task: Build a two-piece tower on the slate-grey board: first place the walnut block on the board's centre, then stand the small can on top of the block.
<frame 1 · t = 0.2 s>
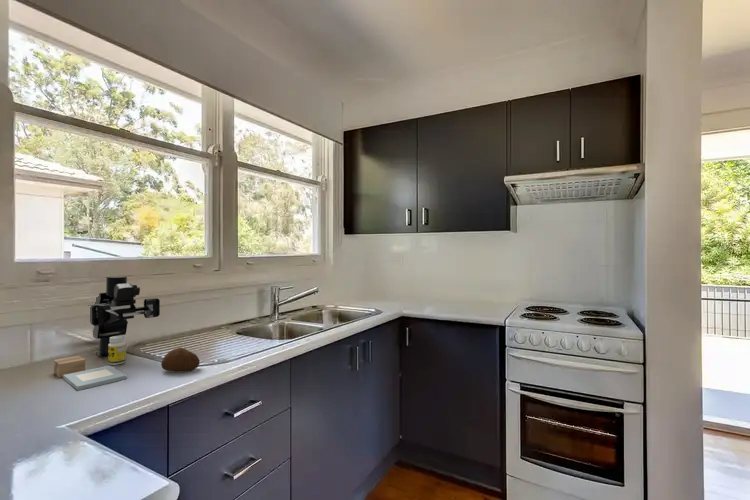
hand: (136, 314, 113), 17 cm above the counter, tool horizontal, fingers open, 9 cm apart
walnut block: (69, 373, 109), on the counter
build board: (94, 378, 104), on the counter
potato: (180, 372, 111), on the counter
supplement bottle: (116, 363, 118), on the counter
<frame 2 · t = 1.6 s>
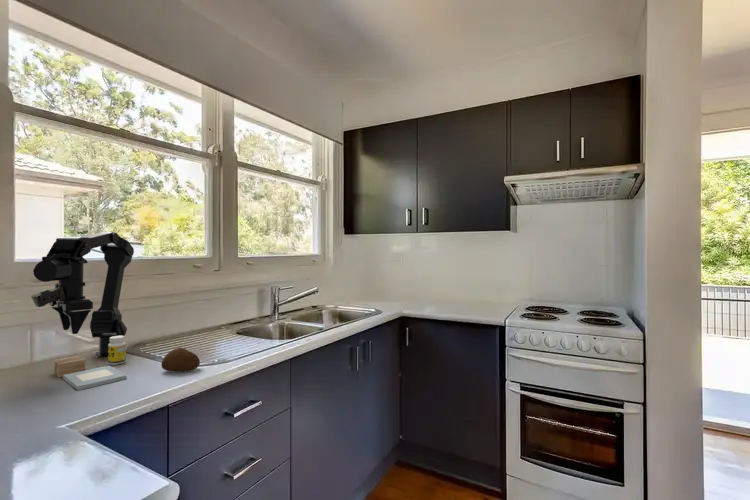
hand: (70, 331, 109), 12 cm above the counter, tool pointing down, fingers open, 9 cm apart
nothing on the counter moved.
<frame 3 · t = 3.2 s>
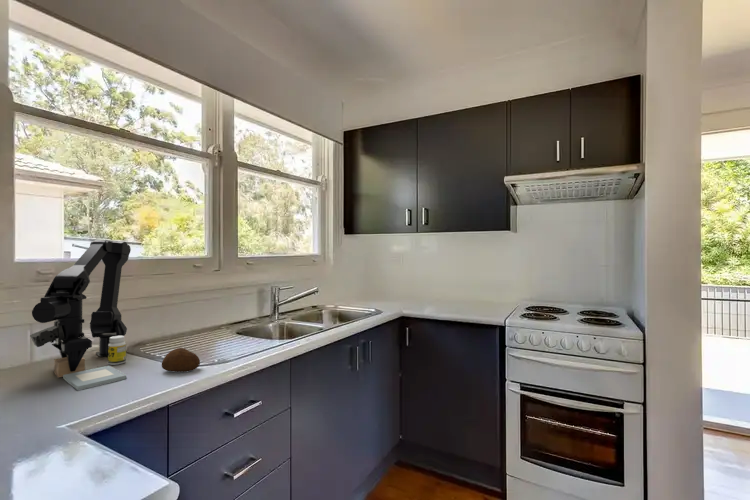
hand: (69, 369, 109), 1 cm above the counter, tool pointing down, fingers closed on walnut block, 6 cm apart
walnut block: (69, 372, 109), on the counter, touching gripper
everything else where it was.
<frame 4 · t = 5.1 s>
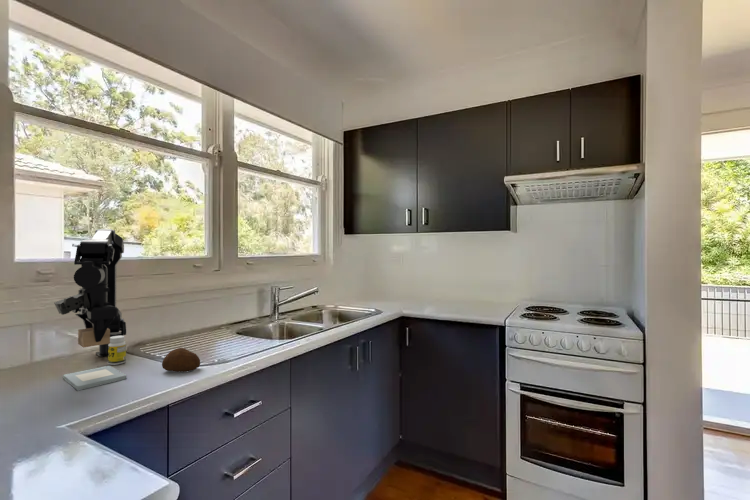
hand: (94, 339, 104), 11 cm above the counter, tool pointing down, fingers closed on walnut block, 6 cm apart
walnut block: (94, 343, 104), point 10 cm above the counter, touching gripper
everything else where it was.
when the fingers open (3 cm above the counter, at t = 6.9 s): walnut block drops 1 cm, resting on build board.
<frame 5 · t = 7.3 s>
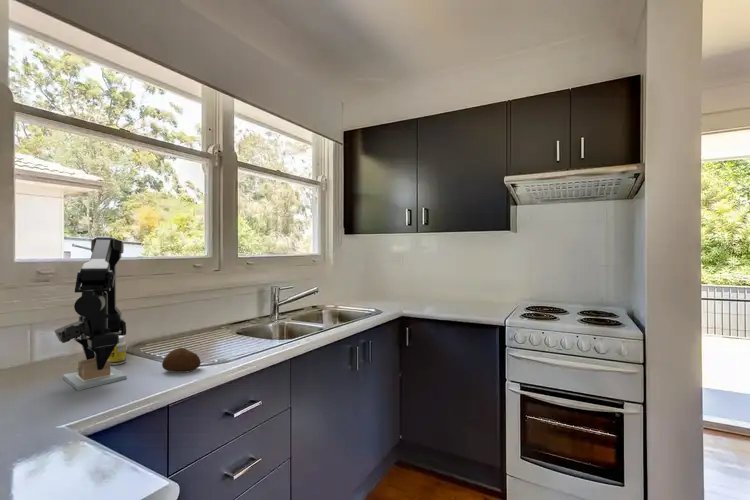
hand: (94, 366, 104), 3 cm above the counter, tool pointing down, fingers open, 9 cm apart
walnut block: (94, 374, 104), point 1 cm above the counter, touching build board
everything else where it was.
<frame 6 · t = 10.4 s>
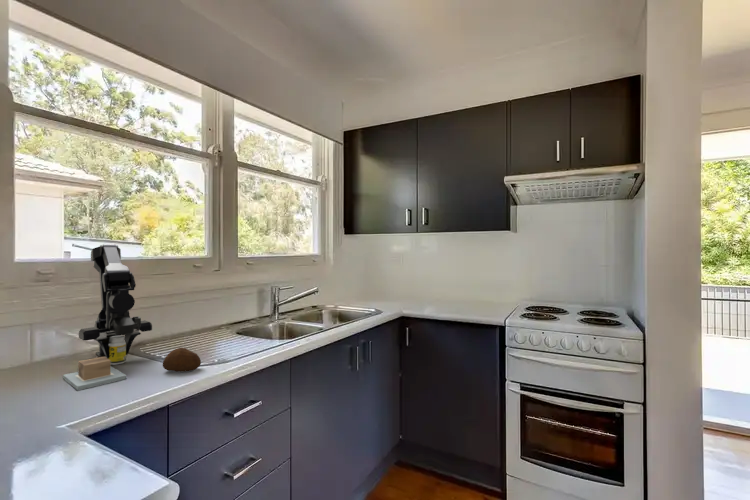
hand: (117, 356, 118), 2 cm above the counter, tool pointing down, fingers closed on supplement bottle, 5 cm apart
supplement bottle: (116, 363, 118), on the counter, touching gripper
everything else where it was.
when the fingers open (8 cm above the counter, at t = 14.0 s): supplement bottle drops 1 cm, resting on walnut block.
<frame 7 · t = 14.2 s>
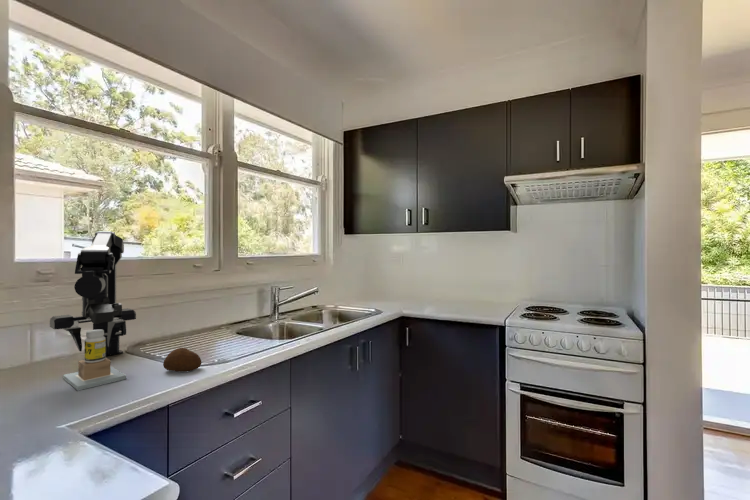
hand: (95, 348, 104), 8 cm above the counter, tool pointing down, fingers open, 6 cm apart
walnut block: (94, 374, 104), point 1 cm above the counter, touching supplement bottle, build board
supplement bottle: (95, 361, 104), point 5 cm above the counter, touching walnut block
everything else where it was.
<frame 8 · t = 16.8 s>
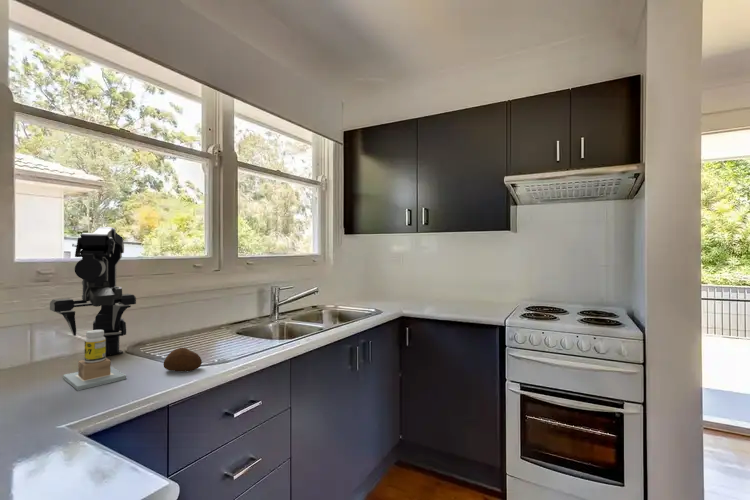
hand: (95, 332, 104), 13 cm above the counter, tool pointing down, fingers open, 9 cm apart
nothing on the counter moved.
at the end: walnut block inside the target area on the build board (0.1 cm from its centre), point 1.0 cm above the build board's base; supplement bottle 0.1 cm off-centre on the walnut block, point 3.8 cm above the walnut block's base; supplement bottle tilted 0° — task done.
